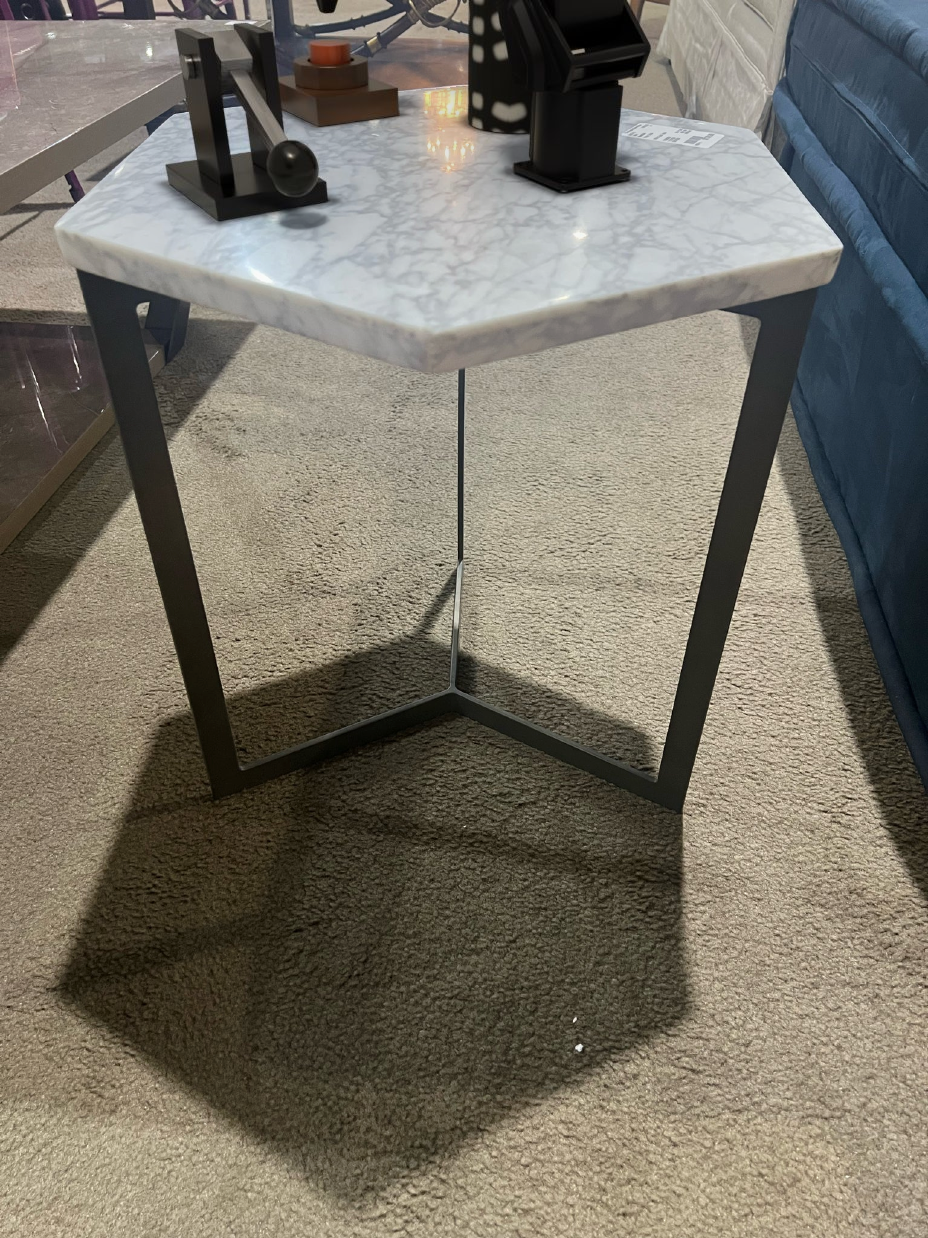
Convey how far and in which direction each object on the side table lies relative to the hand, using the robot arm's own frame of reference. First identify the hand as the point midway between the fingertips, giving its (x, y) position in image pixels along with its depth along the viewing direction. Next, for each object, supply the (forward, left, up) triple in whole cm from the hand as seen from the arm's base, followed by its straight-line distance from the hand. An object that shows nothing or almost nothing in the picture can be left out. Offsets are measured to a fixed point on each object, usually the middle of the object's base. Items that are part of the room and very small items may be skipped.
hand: (327, 12), depth 80 cm
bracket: (-19, +16, -8) cm, 27 cm away
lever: (-23, +17, -3) cm, 29 cm away
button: (0, 0, -4) cm, 4 cm away
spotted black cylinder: (-12, -12, -8) cm, 19 cm away
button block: (0, 0, -8) cm, 8 cm away
